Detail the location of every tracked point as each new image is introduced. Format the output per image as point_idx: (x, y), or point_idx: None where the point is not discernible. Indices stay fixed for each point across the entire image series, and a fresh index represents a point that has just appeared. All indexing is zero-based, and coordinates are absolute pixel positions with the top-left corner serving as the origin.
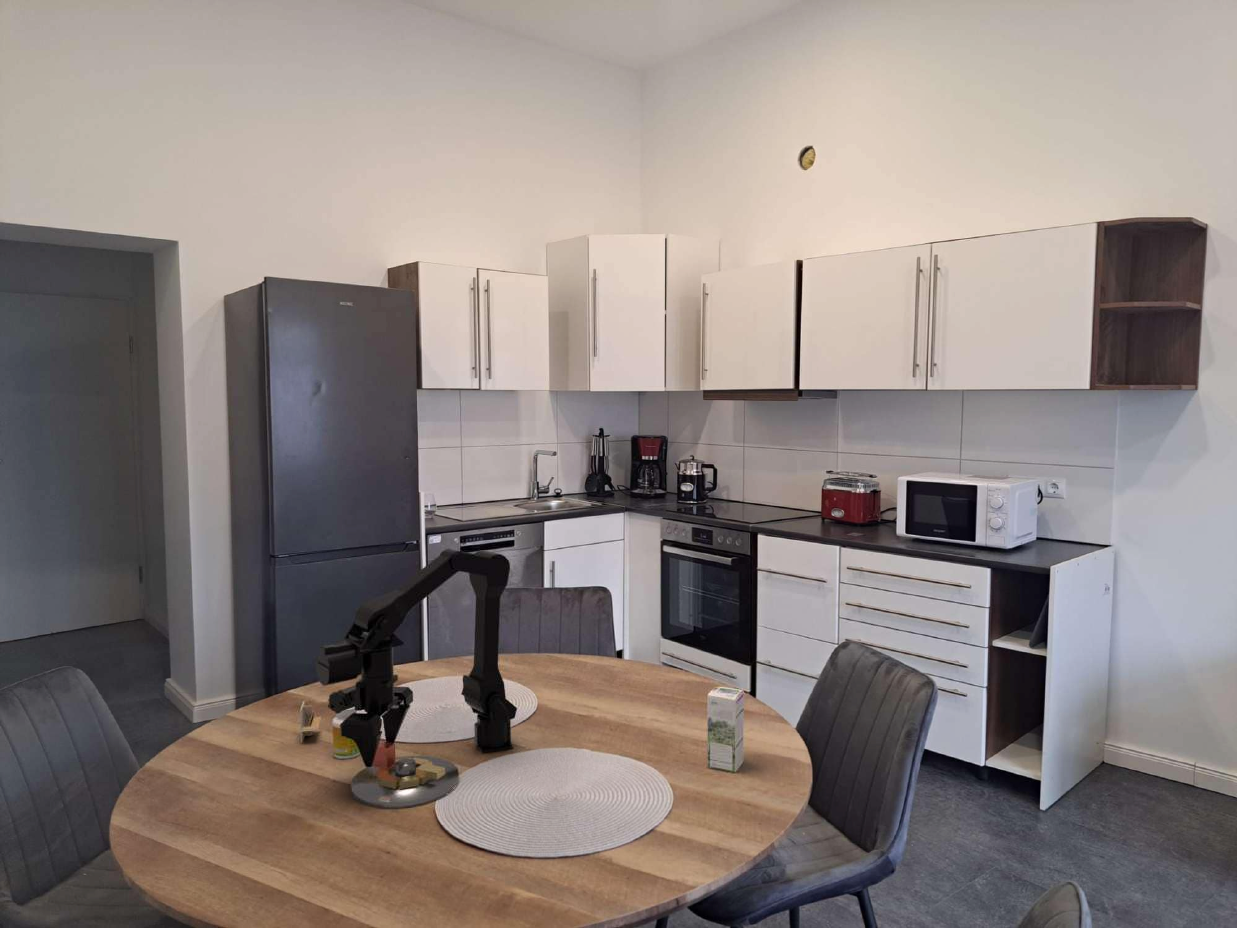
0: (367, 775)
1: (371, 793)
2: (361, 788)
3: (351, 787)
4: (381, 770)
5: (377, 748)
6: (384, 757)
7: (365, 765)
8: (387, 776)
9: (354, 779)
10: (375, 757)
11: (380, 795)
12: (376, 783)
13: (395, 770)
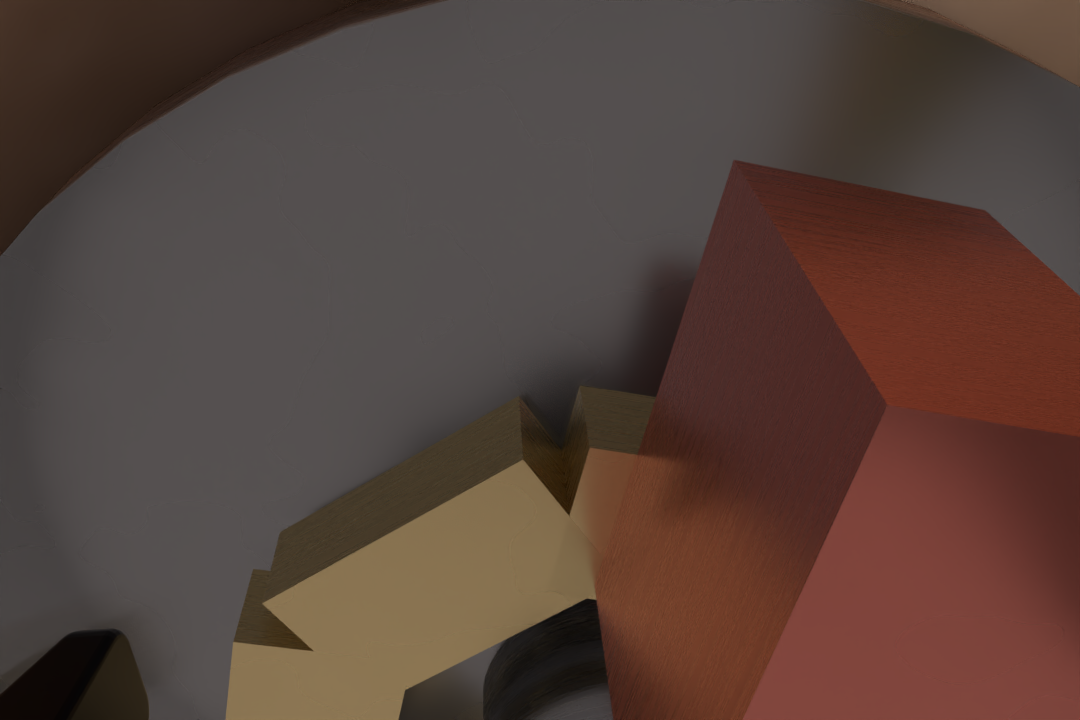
0: (585, 202)
1: (40, 535)
2: (121, 336)
3: (131, 133)
4: (534, 530)
5: (718, 712)
6: (635, 699)
7: (53, 654)
8: (353, 684)
9: (385, 52)
10: (689, 501)
11: (49, 645)
12: (347, 459)
13: (546, 714)
